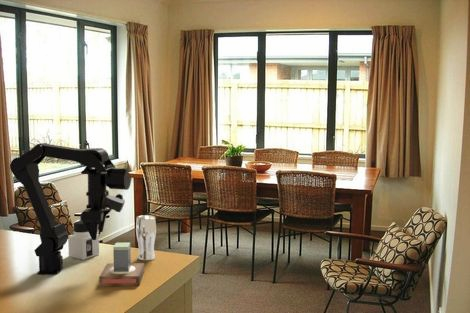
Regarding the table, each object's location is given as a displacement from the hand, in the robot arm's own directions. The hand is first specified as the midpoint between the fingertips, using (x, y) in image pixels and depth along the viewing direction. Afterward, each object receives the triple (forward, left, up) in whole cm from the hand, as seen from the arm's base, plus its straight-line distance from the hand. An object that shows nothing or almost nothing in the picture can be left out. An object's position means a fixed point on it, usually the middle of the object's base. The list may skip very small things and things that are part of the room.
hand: (97, 235), depth 159 cm
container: (-9, +19, -13) cm, 25 cm away
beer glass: (+14, +15, -13) cm, 24 cm away
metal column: (+8, -5, -10) cm, 14 cm away
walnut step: (+9, -5, -13) cm, 16 cm away
